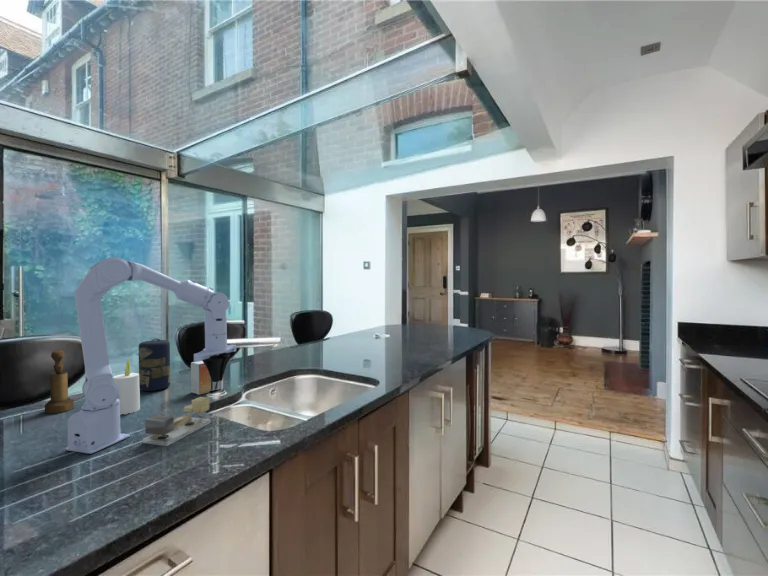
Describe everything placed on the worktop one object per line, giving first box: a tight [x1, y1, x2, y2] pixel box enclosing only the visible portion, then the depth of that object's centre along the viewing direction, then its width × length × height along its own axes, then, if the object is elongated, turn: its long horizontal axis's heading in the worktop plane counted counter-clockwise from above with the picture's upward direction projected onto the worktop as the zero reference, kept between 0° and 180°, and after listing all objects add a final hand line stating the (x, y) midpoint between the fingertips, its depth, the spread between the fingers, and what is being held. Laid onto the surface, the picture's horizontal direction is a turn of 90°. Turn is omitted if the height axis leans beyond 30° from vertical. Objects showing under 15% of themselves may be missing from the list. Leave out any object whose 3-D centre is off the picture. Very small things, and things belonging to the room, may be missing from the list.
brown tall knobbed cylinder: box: [44, 349, 75, 414], centre depth 110 cm, size 7×6×18 cm
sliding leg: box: [183, 396, 210, 418], centre depth 99 cm, size 3×6×5 cm, turn 75°
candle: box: [113, 359, 141, 416], centre depth 108 cm, size 6×6×15 cm
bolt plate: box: [142, 416, 211, 447], centre depth 93 cm, size 14×7×1 cm, turn 165°
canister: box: [138, 337, 172, 392], centre depth 130 cm, size 10×10×18 cm
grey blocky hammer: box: [144, 413, 192, 437], centre depth 92 cm, size 12×5×4 cm, turn 165°
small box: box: [190, 361, 211, 396], centre depth 127 cm, size 8×6×10 cm
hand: (217, 381), depth 105 cm, fingers closed
